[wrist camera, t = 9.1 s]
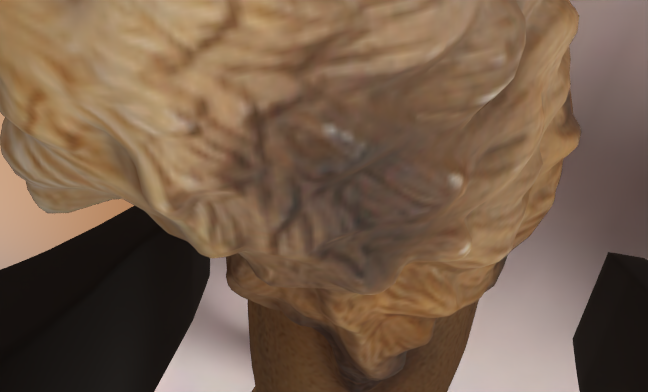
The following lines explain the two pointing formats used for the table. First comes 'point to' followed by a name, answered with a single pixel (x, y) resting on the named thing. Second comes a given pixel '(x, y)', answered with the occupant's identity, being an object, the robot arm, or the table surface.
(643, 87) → the table surface
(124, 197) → the lion figurine
